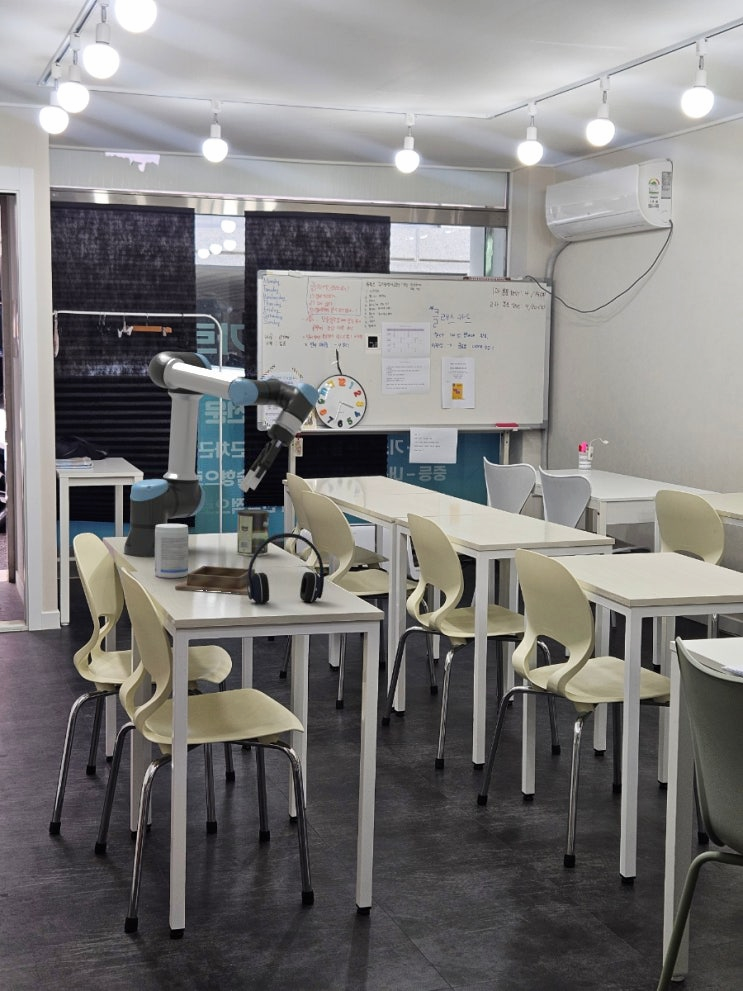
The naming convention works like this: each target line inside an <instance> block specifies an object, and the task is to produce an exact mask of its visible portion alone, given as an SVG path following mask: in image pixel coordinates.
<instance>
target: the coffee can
mask: <svg viewBox="0 0 743 991" xmlns="http://www.w3.org/2000/svg"><path fill="white" fill-rule="evenodd" d="M269 515H270V511H268V510H264V509H241V510H237V534H236V535H237V536H236V537H237V538H236V539H237V541H236V542H237V543H236V544H237V545H236V554H237V555H238V556H239V555H240V556H246V557H253V555H254V553H255V551H256V550H257V548H258V547H259V546H260V545H261V544H262V543H263V542H264V541H265V540H266V539H268V538H269V517H270V516H269ZM268 546H269V545H268V544H267V545H266V546H265V547H264V548H263V549H262V550H261V551H260V552H259V554H258V555H257V557H262V556H267V555H268V554H269V552H268Z"/></svg>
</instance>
